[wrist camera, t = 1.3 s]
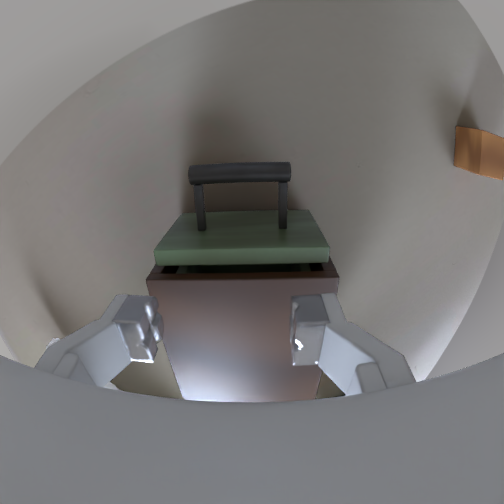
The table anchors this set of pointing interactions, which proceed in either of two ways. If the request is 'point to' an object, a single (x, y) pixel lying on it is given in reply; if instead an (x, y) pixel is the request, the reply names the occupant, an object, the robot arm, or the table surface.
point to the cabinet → (236, 332)
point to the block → (479, 152)
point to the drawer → (242, 229)
